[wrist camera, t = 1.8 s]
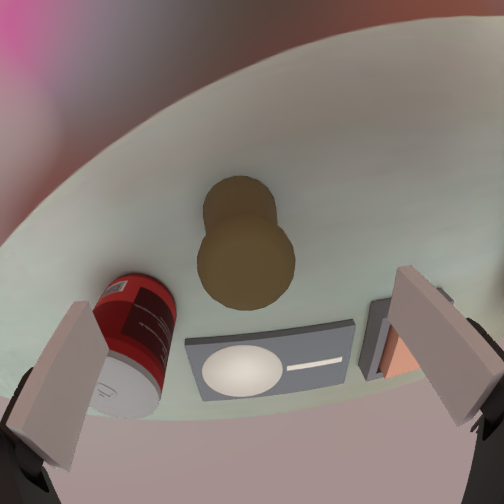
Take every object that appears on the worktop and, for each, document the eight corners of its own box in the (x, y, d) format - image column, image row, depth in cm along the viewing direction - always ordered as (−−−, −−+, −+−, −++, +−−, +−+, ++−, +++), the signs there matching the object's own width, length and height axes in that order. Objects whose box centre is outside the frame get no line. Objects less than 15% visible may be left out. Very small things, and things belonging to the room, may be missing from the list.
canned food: (99, 318, 28) (62, 396, 18) (114, 258, 25) (63, 335, 15) (164, 345, 30) (147, 430, 20) (189, 289, 27) (173, 380, 17)
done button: (434, 307, 29) (447, 322, 26) (420, 349, 32) (430, 364, 29) (387, 319, 28) (399, 336, 26) (376, 361, 31) (385, 378, 29)
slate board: (352, 319, 30) (356, 325, 29) (341, 377, 34) (344, 383, 33) (185, 339, 29) (184, 346, 28) (202, 395, 33) (202, 401, 32)
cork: (222, 256, 26) (220, 342, 16) (190, 195, 23) (162, 253, 13) (286, 228, 25) (324, 301, 15) (258, 163, 22) (284, 197, 12)
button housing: (440, 287, 29) (454, 301, 27) (421, 348, 34) (431, 362, 31) (371, 301, 29) (382, 318, 26) (358, 364, 33) (366, 381, 31)
